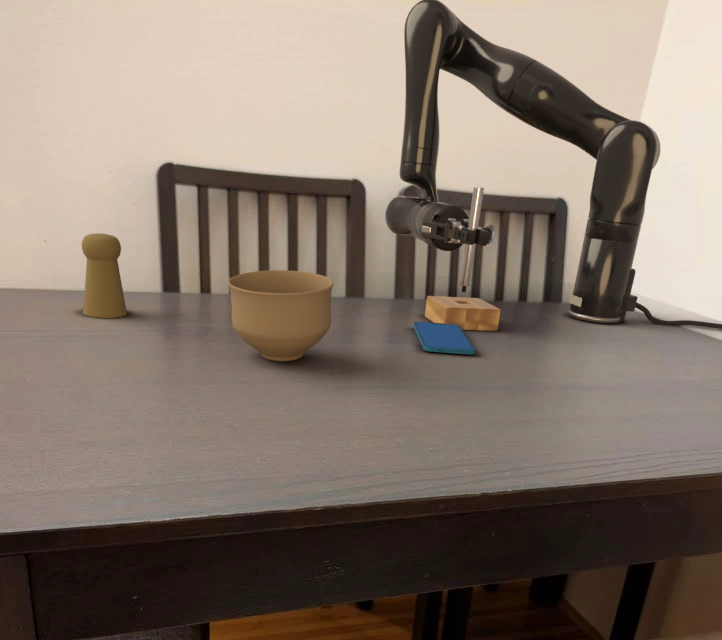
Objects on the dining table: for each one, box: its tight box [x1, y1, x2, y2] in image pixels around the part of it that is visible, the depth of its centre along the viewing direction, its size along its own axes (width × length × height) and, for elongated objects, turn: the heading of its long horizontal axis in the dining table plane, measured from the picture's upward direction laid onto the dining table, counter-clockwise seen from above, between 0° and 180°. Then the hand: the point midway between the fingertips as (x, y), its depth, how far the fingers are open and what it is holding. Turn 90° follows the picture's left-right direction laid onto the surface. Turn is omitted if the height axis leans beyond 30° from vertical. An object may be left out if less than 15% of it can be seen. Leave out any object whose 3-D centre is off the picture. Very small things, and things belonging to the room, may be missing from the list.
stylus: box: [459, 186, 485, 293], centre depth 116 cm, size 2×2×16 cm
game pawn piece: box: [81, 232, 128, 319], centre depth 104 cm, size 6×6×11 cm
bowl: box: [227, 269, 334, 363], centre depth 89 cm, size 13×13×10 cm
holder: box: [424, 295, 502, 332], centre depth 121 cm, size 9×9×4 cm
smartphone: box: [412, 321, 476, 355], centre depth 108 cm, size 7×1×15 cm
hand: (479, 238), depth 113 cm, fingers closed on stylus, 1 cm apart
